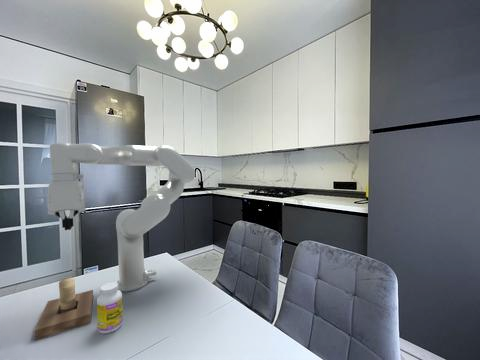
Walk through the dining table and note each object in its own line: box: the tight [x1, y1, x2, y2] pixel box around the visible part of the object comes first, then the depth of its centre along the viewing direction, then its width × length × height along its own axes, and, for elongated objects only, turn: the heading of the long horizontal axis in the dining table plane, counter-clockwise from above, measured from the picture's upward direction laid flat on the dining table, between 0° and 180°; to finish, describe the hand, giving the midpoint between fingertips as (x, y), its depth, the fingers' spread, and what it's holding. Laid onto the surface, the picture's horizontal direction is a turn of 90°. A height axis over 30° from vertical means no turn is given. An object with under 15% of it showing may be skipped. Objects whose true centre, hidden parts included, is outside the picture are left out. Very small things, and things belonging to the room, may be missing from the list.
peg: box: [58, 277, 76, 313], centre depth 71 cm, size 4×4×12 cm
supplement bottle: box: [96, 281, 124, 334], centre depth 66 cm, size 7×7×13 cm
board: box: [33, 289, 95, 341], centre depth 71 cm, size 13×16×3 cm
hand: (68, 229), depth 78 cm, fingers closed
